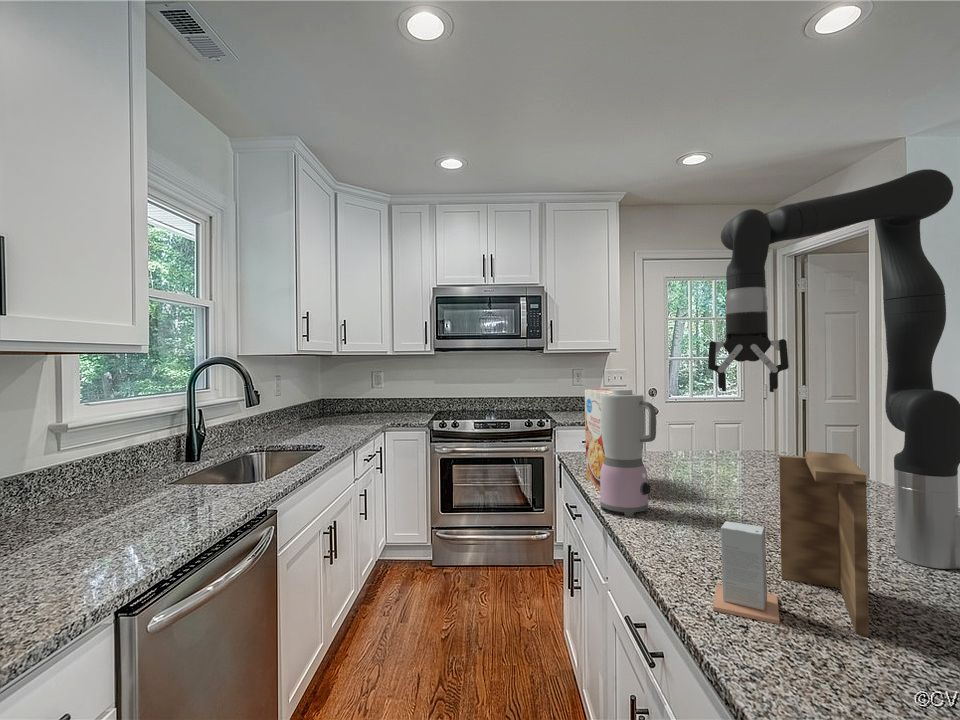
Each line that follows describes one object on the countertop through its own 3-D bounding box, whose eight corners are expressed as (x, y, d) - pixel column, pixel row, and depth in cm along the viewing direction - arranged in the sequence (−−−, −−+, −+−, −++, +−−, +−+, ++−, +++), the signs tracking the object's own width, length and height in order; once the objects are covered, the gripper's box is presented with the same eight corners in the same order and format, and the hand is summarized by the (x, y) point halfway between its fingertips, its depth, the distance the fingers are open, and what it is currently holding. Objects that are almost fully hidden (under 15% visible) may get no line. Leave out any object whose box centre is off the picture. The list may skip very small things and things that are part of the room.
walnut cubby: (848, 586, 85) (846, 453, 85) (869, 636, 70) (866, 474, 70) (781, 575, 90) (778, 449, 90) (786, 619, 75) (783, 468, 75)
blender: (590, 509, 132) (588, 390, 132) (616, 500, 140) (614, 387, 140) (644, 523, 120) (642, 392, 120) (669, 512, 128) (667, 389, 128)
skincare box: (767, 600, 80) (766, 526, 80) (764, 611, 76) (763, 534, 76) (726, 591, 83) (724, 520, 83) (721, 601, 80) (720, 527, 80)
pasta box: (586, 477, 168) (584, 389, 168) (609, 477, 168) (608, 389, 168) (605, 496, 145) (603, 394, 145) (632, 495, 145) (630, 393, 145)
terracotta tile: (777, 598, 82) (777, 595, 82) (779, 624, 74) (779, 620, 74) (716, 587, 86) (716, 583, 86) (713, 610, 78) (713, 606, 78)
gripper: (706, 312, 100) (707, 392, 100) (788, 307, 94) (790, 393, 93) (709, 315, 107) (710, 389, 107) (786, 311, 100) (787, 390, 100)
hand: (747, 391), depth 100 cm, fingers open, 8 cm apart
